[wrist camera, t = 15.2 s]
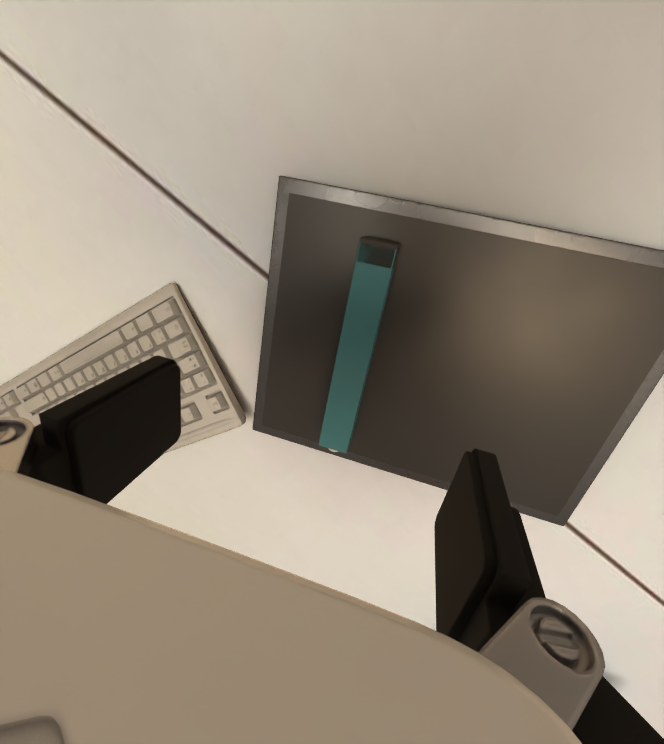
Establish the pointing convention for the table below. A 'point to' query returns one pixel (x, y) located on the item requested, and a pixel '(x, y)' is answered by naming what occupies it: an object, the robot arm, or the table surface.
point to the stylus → (358, 339)
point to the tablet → (463, 341)
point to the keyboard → (125, 350)
